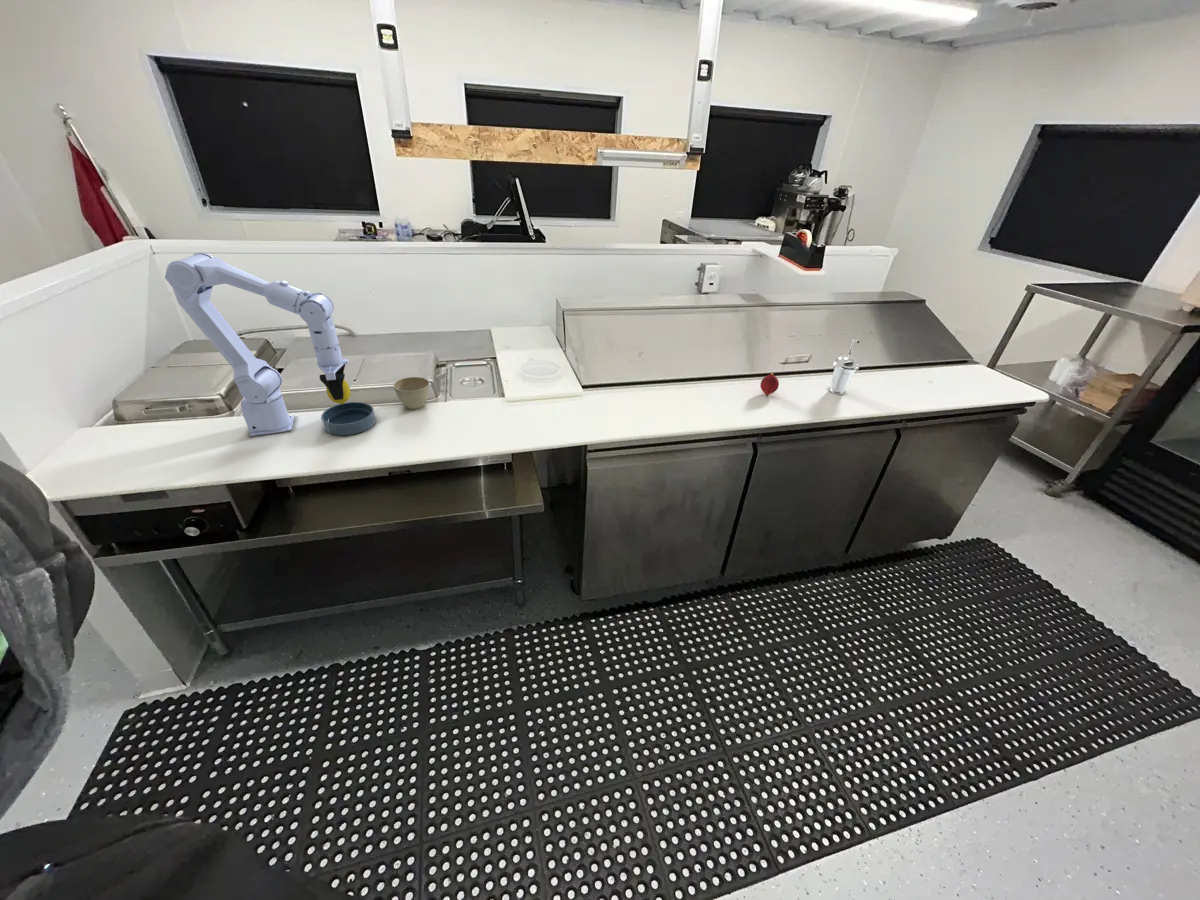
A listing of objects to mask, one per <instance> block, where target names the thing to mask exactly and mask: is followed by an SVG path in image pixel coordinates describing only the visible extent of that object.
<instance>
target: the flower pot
mask: <svg viewBox="0 0 1200 900" xmlns="http://www.w3.org/2000/svg"><path fill="white" fill-rule="evenodd" d="M430 385H431V383H430V380H429V379H427V378H426V377H421V376H407V377H403V378H400V379H398V380H396V381H395V382H393V385H392V386H393V390H394V392H395V394H396V396H397V398H398V399H399V401H400V402H401V404H403V405H404V406H405V408H407V409H408V410H419V409H421V408H423V407H424V405H425V404H426V402H427V399H428V397H429V393H430Z"/></svg>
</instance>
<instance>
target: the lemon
mask: <svg viewBox="0 0 1200 900" xmlns="http://www.w3.org/2000/svg"><path fill="white" fill-rule="evenodd" d="M325 387H326V386H325ZM325 390H326V394H327V396H328V398H329V399H330V400H331V401H332V402H333V403H335V404H344V403H347V402H348V401H349V400H350V398H351V387H350V385H349V383H348V382H347V381H346V380H345V379H344V381H343V399H340V400H334V398H333V397H332V395H331V393H330V391H329V390H328V388H327V387H326V388H325Z"/></svg>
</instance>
